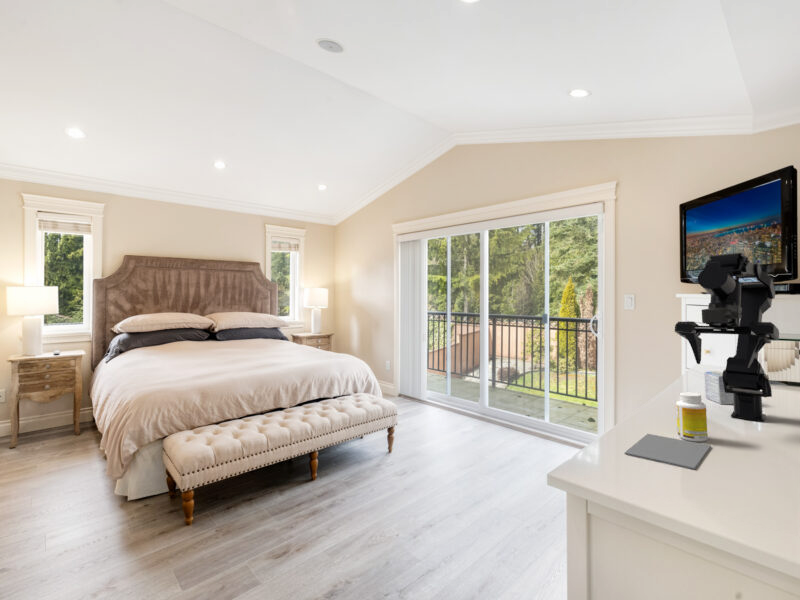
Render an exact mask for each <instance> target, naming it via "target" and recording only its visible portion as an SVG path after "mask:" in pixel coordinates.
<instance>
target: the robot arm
mask: <svg viewBox="0 0 800 600" xmlns="http://www.w3.org/2000/svg"><path fill="white" fill-rule="evenodd" d="M709 258H710V259H708V260H706V262H705V265H704V267H703V269H702V270H701V271H700V272H699V274H698V276H697V283H698V284H699V286H701V288H702V289H704V290H705V292H707V293H708V294H709V295H710V302H709V303H708V307H707V308H703V309H701V320H702V321H701V322H702V323H703V324H706V325H699V324H697V323H696V322H695V321H677V322H676V323H675V325H674V332H675V333H676V334H677V335H679V336H681V337H682V338H684V339H685V340H687V341H688V343H689V345H690V347H691V350H692V352H693V353H692V354H693V356H694V360H695V362H696V364H698V365H701V361H702V344H703V343H702V341H703V340H702V338H700V336H701V334H712V335H713V334H714V335H737V340H736V341H737V343H736V344H737V345H736V349H735V351H736V352H735V355H734V356H729V357H727V359H726V364H725V365H726V367H725V369H724V370H723V371H722V372H723V384H724V390H725V393H733V400H734V404H733V412H731V414H730V418H733V419H742V420H750V421H757V422H765V420H766V417H767V415H766V414H764V413H763V399H762V398H772V397H773V395H772V394H773V393H772V392H773V391H772V386H771V381H770V379H769V378H768V377H767V374H766V373H765V371H764V368H763V366H762V365H761V363H760V361H759V360H758V359H759V352H760V351H761V350H762V348H763V347H764V346H765V345H766V344H771V343H772V341H778V340H780V331H779V330H780V329H779V328H778V327H777V326H776V325H775V324H774V323H773V322H770V321H763V314H764V313H766V312H767V311H768V310H769V309H770V308H772V301H773V300H774V299H775V297H776V290H775V284H774V282H773V278H772V277H771V276H770V275H769V274H767V273H766V272H764V271H763V270H762V267H761V264H760V263H757V262H752V261H750V259H749V257H748V256H746V254H745V253H743V252H741V251H740V252H732V253H721V254H713V255H711V256H709ZM750 278H753V279H754V278H756V280H757V281H759V282H750V283H749V282H748V283H741V282H740V279H750Z"/></svg>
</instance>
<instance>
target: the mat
mask: <svg viewBox="0 0 800 600" xmlns="http://www.w3.org/2000/svg"><path fill="white" fill-rule="evenodd" d="M711 448H712V445H711V444H706V443H700V442H695V441H688V440H685V439H680V438H679V439H678V438H673V437H667V436H663V435H657V434H652V433H646V434H645V435H644V436H643V437H642V438H640V439H639V440H638V441H637V442H635V443H634V444H633V445H632V446H631V447H630V448H628V449H627V450H626V451H625V452H624V455H625V454H626V456H629V457H630V456H631V457H634V458H638V459H639V458H640V459H643V460H644V459H645V460H648V461H653V462H658V463H660V464H661V463H662V464H666V465H672V466H676V467H680V468H684V469H688V470H693V471H695V470H696V469H697V467H698V465H700V463H701V462H702V460H703V459H704V458H705V456H706V455H707V454H708V452H709V451H710V449H711Z"/></svg>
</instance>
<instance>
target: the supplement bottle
mask: <svg viewBox="0 0 800 600" xmlns="http://www.w3.org/2000/svg"><path fill="white" fill-rule="evenodd" d="M675 407H676V424H677V426H676V427H677V428H676V429H677V436H678V437H679V439H681V440H685V441H690V442H696V443H700V442H703V443H704V442H706V441H707V440H708V439H709V438H708V420H707V419H708V418H707V405H706V403H704V402H702V394H700V393H697V392H690V391H687V392H686V391H684V392H680V393H679V400H678V401H677V402H676V403H675Z"/></svg>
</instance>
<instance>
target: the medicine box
mask: <svg viewBox="0 0 800 600" xmlns="http://www.w3.org/2000/svg"><path fill="white" fill-rule="evenodd" d="M704 385H705V386H704V388H705V398H706V399H707V400H710V401H713V402H714V403H717V404H719V405H734V400H733V393H725V390H724V384H723V371H717V370H715V371H711V370H710V371H704Z"/></svg>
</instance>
